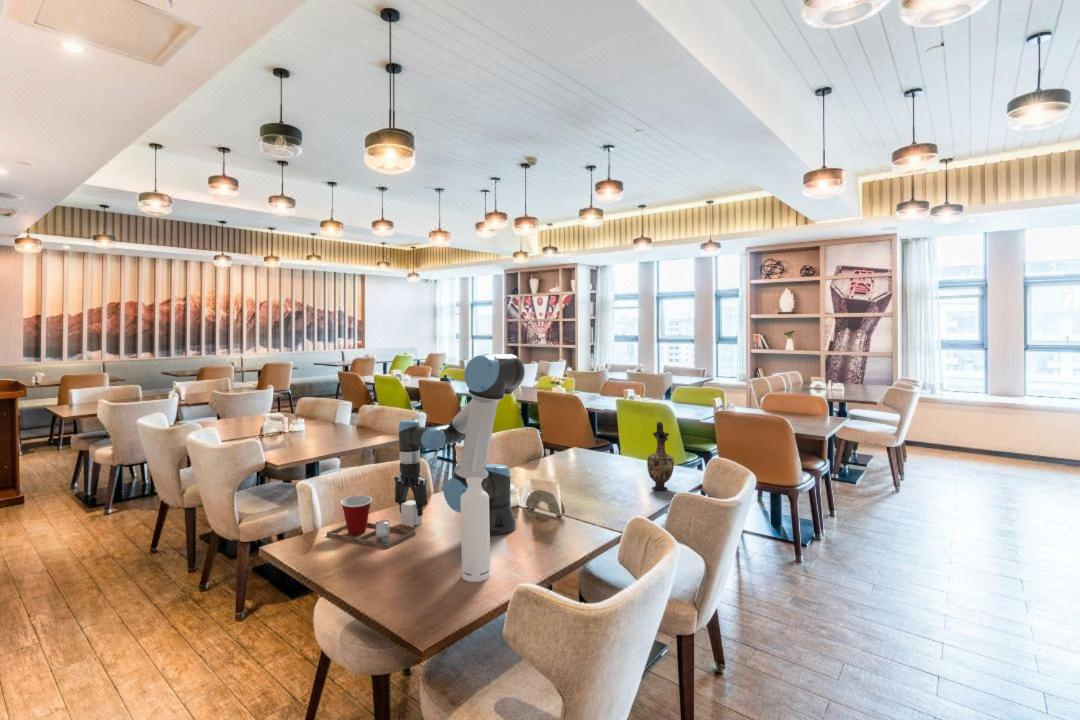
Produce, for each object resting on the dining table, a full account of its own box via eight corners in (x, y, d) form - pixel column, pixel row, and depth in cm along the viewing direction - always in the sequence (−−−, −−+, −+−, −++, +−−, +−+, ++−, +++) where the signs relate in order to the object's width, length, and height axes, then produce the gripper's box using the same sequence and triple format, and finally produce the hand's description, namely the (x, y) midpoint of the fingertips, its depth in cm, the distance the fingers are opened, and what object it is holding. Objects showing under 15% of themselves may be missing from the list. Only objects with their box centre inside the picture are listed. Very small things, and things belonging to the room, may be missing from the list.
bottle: (463, 570, 155) (461, 476, 154) (490, 568, 156) (488, 475, 155) (461, 582, 147) (459, 483, 146) (490, 581, 148) (488, 482, 147)
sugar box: (421, 522, 198) (420, 501, 197) (412, 527, 193) (411, 505, 193) (411, 520, 200) (410, 500, 200) (401, 525, 195) (401, 503, 195)
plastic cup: (348, 540, 180) (347, 506, 180) (336, 532, 188) (335, 499, 188) (378, 532, 188) (377, 499, 187) (365, 525, 196) (364, 493, 195)
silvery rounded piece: (392, 541, 179) (392, 521, 179) (383, 546, 175) (382, 525, 175) (382, 539, 181) (382, 519, 181) (373, 544, 177) (372, 523, 177)
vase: (648, 492, 233) (647, 424, 232) (647, 484, 245) (646, 420, 244) (675, 493, 231) (674, 425, 230) (672, 485, 243) (672, 420, 242)
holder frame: (415, 534, 185) (415, 531, 185) (386, 548, 172) (386, 545, 172) (357, 523, 198) (357, 520, 198) (326, 535, 185) (326, 532, 185)
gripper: (436, 461, 195) (438, 523, 195) (397, 457, 204) (398, 516, 204) (423, 466, 188) (425, 530, 189) (383, 461, 197) (385, 522, 198)
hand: (411, 522), depth 197 cm, fingers open, 6 cm apart
